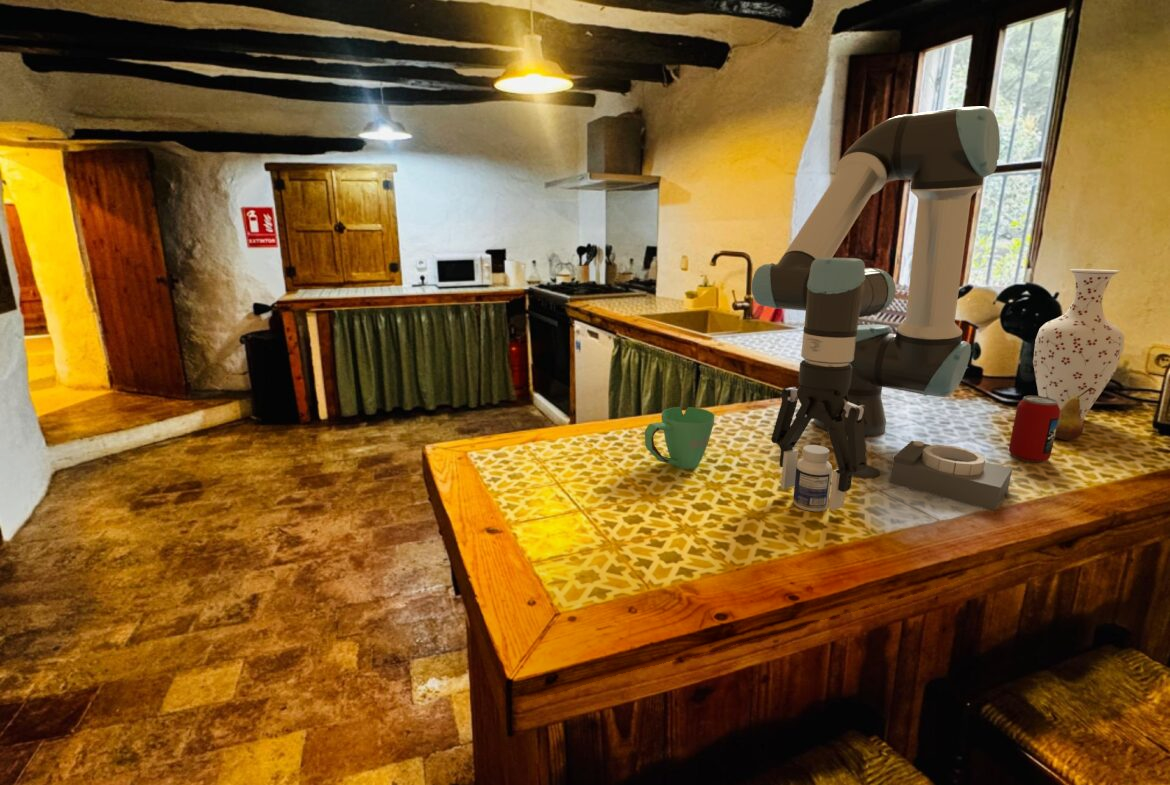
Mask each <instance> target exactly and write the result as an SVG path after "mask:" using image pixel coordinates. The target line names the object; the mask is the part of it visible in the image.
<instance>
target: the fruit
mask: <svg viewBox="0 0 1170 785" xmlns="http://www.w3.org/2000/svg"><path fill="white" fill-rule="evenodd" d="M1091 389H1093V388H1092V387H1090V388H1089V389H1087V390H1086V391H1085V392H1084V393H1086V392H1087V391H1089V390H1091ZM1084 393H1082V394H1081V395H1079V396H1078V397H1076V396H1074V397H1072V398H1070V399H1069V400H1068V401H1067V402H1066V403H1065V404H1064V406H1063V407H1062V408H1061V410H1060V415H1059V420H1058V425H1057V429H1056V434H1055V439H1059V440H1063V441H1067V442H1069V441H1070V442H1071V441H1074V440H1076V439H1079V437H1081V435H1082V434H1083V432H1084V428H1085V427H1084V425H1085V424H1084V421H1082V419H1081V416H1080V399H1079V397H1080V396H1082V395H1083V394H1084Z"/></svg>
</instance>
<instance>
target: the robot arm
mask: <svg viewBox="0 0 1170 785" xmlns="http://www.w3.org/2000/svg"><path fill="white" fill-rule="evenodd" d="M1000 136H1001V135H1000V128H999V122H998V120H997V117H996V115H995V113H994V112H993V110H992V109H991V108H989V107H987V106H965V107H964V106H960V107H957V108H950V109H942V110H941V109H940V110H933V111H926V112H918V113H913V114H912V113H911V114H909V113H908V114H902V115H901V114H900V115H896V116H894V117H891V118H888V119H886V120H884V121H883V122H880V123H878V124H877V125H875V126H874V127H872V128H871V129H869V130H868V131H867V132H865V133H864V134H863V135H861V137H859V138H857V139H856V141H854V143H853V144H852V145H851V146H849V148H847V150H846V151H845V152H844V154H843V155H842V156H841V158H840V159H839V161H838V163H837V164H836V167H835V172H834V173H835V176H834V178H833V180H832V181H831V183H829V186H828V188H826V191H825V192H824V193H823V195H822V197H821V198H820V199H819V201H818V203H817V204H816V206H815V207H814V208H813V210H812V211H811V213H810V215H808V218H807V219H806V221H805V222H804V224H803V225H802V227H801V228H800V230H799V231H798V232H797V234H796V236H795V237H794V239H793V240H792V242H791V243H790V245H789V246H788V248H787V249H786V251H785V252H784V254H783V255H782V257H781V258H780V260H779V261H778V263H776V264H775V263H773V262H772V263H769V264H768V263H766V264H763V265H761V266H759V267H757V269H756V271H754V274H753V277H752V281H751V295H752V296H753V299H754V301H755V303H756V304H758V305H760V306H762V307H768V308H772V309H775V310H776V309H778V310H781V309H782V310H794V311H804V312H805V316H804V326H803V335H802V343H801V353H800V356H801V357H802V359H803V360H801V361H800V362H799V372H798V383H799V387H798V388H797V387H796V386H792V387H787V388H782V390H781V403H780V404H781V405H780V406H779V410H778V414H777V417H776V420H775V424H774V428H773V431H772V435H771V438H770V439H771V442H772V443H773V444H776V445H778V446H779V448H780V456H779V457H780V458H779V466H780V468H782V469H781V478H780V480H781V481H780V489H782V490H787V489H789V488H792V487H794V486H795V476H796V467H797V462H798V461H799V460H798V458H799V449H796V448H795V447H798V445H797V443H798V441H799V440H800V438H801V437H802V436H803V433H804V432H805V430H806V429H807V427H808V425H809V424H810V422H811V420H813V424H814V425H815V426H816V427H818V428H820V429H822V430H824V431H827V432H828V435H829V440H830V443H831V444H830V445H831V446H832V450H833V454H834V457H835V461H836V465H837V467H838V468H836V469H832V476H831V484H830V493H829V502H828V510H830V511H832V512H833V511H836V510H839V509H842V508H844V507H845V499H846V492H848V491H850V490H851V489H852V481H853V480H852V479H853V473H855V472H858V471H861V470H864V469H866V468H867V465H868V462H867V461H868V460H867V450H866V437H871V436H872V437H873V436H878V435H881V434H884V433H885V431H886V426H887V420H886V419H887V418H886V414H885V409H884V405H883V404H884V403H883V399H882V390H883V388H886V389H893V390H898V391H903V392H909V393H913V394H919V395H923V396H924V397H927V396H929V397H930V396H932V397H939V398H945V397H949V396H950V395H952V394H953V393H954V392H955V391H956V390H957V389H958V387H959V385H960V383H961V382H962V379H963V378H964V376H965V374H966V373H965V372H966V370H967V368H968V365H969V361H970V357H971V354H972V353H971V352H972V350H971V349H972V344H970V343H969V342H967V341H965V340H962V339H963V337H962V336H963V330H962V328H960V326H958V325H957V323H956V322H955V321H956V313H957V305H958V299H959V298H958V297H959V291H960V283H961V277H962V268H963V261H964V253H965V245H966V239H967V230H968V223H969V217H970V216H969V214H970V207H971V200H972V196H973V195H974V194H975V193H976V192H978V191H979V190H980V189H981V188H982V187H983V185H984V184H983V183H984V178H987V177H988V176H989V177H990V176H992V175H993V173H995V171H996V169H997V168H998V167H997V166H998V160H999V157H1000V150H1001V149H1000V148H1001V147H1000V144H1001V142H1000V140H1001V138H1000ZM897 180H898V181H899V180H900V181H905V180H906V181H907V180H910V189H909V190H910V192H912V194H913V195H914V196H915V197H916V198H917V206H916V208H917V209H916V218H915V229H914V235H913V236H914V238H913V248H912V257H911V266H910V267H911V268H910V274H909V275H910V276H909V287H908V297H907V305H906V315H905V321H904V322H903V323H901V324H900V325H899V326H898V327H896V332H895V333H891V332H892V329H891V326H890V325H888V324H886V325H885V324H859V320H860V318H864V317H871V316H875V315H877V314H878V313H880V312H883V311H885V310H886V309H887V308H889V306H890V305H891V304H892V303H893V301H894V299H895V296H896V283H895V281H894V279H893V277H892V276H891V275H890V274H889V273H888V272H887V271H885V270H884V269H880V268H875V267H866V263H865V261H863V260H862V259H861V258H855V257H834V255H835V254H836V252H837V251H838V249H839V248H840V246H841V244H842V243H843V241H844V239H845V238H846V236H847V235H848V234H849V232H850V230H851V228H852V227H853V225H854V224H855V222H856V220H857V219H858V218H859V216H860V214H861V212H862V210H863V209H864V208H865V206H866V204H867V203H868V201H869V199H870V198H871V196H872V195H875V194H876V193H878V192H879V191H881V190H882V188H883V187H884V185H885V184H886V183H889V182H893V181H897ZM798 401H799V404H800V407H799V408H798V410H797V409H796V407H797V405H798ZM796 410H797V412H796ZM795 412H796V413H795ZM794 415H795V419H794Z"/></svg>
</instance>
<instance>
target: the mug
mask: <svg viewBox="0 0 1170 785" xmlns="http://www.w3.org/2000/svg"><path fill="white" fill-rule="evenodd" d="M714 425H715V414H714V413H713V412H712V411H710V410H708V409H707V410H706V409H703V408H699V407H693V406H692V407H690V406H687V407H686V410H685V412H684V413H683V410H682V407H681V406H676V407H670V408H666V409H664V410H663V411H662V412H661V422H652V423H649V424H648V425H647V427H646V429H645V430H644V439H645V440H644V443H645V444H644V445H645V448H646V449H647V450H648V451H649V452H650V454H652V456H654V458H655V459H657V461H659V462H662V463H665V464H670V465H673V466H674V467H676V468H678V469H682V470H693V469H695V468H696V469H697V468H698V466H699V465H700V463H701V461H702V459H703V457H704V454H705V453H706V449H707V446H708V445H709V442H710V437H711V435H712V431H713V428H714ZM659 431H663V435H664V440H665V441H664V442H665V444H666V448H667V452H668V455H669V457H668V456H666V455H665V456H664V455H662V454H661V453H660V451H659V449H658V448H657V447H656V445H655V441H654V436H655V434H656V432H659Z"/></svg>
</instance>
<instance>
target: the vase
mask: <svg viewBox="0 0 1170 785" xmlns="http://www.w3.org/2000/svg"><path fill="white" fill-rule="evenodd" d="M1069 271H1070V272H1071V273H1072V274H1074V279H1075V281H1074V282H1075V292H1074V296H1073V299H1072V301H1071V304H1070V306H1069V308H1068V309H1067V310H1066V311H1065V312H1064V313H1063V314H1062V315H1060V316H1058V317H1056V318H1054V319H1051V320H1049V321H1047V322H1045V323H1044V324H1043V325H1042V326H1040V328H1039V330H1038V332H1037V334H1036V337H1035V340H1034V341H1035V342H1034V351H1033V360H1032V364H1033V368H1034V370H1033V371H1034V376H1035V382H1036V387H1037V394H1038V395H1037V396H1041V397H1047V398H1051V399H1054V400H1056V401H1058V403H1057V404H1058V406H1059V408H1060V410H1061V408H1062V407H1063V406H1064V404H1065V403H1066V402H1067V401H1068V400H1069V399H1070V398H1072V397H1074V396H1076V397H1078V396H1079V395H1081V394H1082V393H1084V392H1085V391H1086V390H1087V389H1089V388H1090V387H1092V388H1093V389H1091V390H1089V391H1087V392H1086V393H1084V394H1083V395H1082V396H1080V397H1079V399H1080V416H1081V419H1082V421H1083V422H1084V421H1085V417H1086V415H1087V413H1089V411H1090V409H1091V408H1092V407H1093V405H1094V404H1095V403H1096V401H1097V399H1098V398H1099V397H1100V395H1101V394H1102V392H1103V391H1104V389H1105V388H1106V386H1107V384H1108V383H1109V382H1110V380H1111V379H1112V378H1113V376H1114V375H1115V373H1116V371H1117V368H1118V365H1119V362H1120V359H1121V357H1122V354H1123V351H1124V344H1125V335H1124V334H1123V332H1122V330H1121V329H1120V328H1119V327H1117V326H1116V325H1115V324H1114V323H1112V322H1110V321H1109V320H1108V319H1107V318H1106V316H1105V313H1104V310H1103V298H1104V293H1105V291H1106V289H1107V287H1108V285H1109V283H1110V281H1111V279H1112V277H1113V276H1115V275H1116V274H1118V273H1121V270H1117V269H1116V270H1114V269H1113V270H1112V269H1095V268H1094V269H1093V268H1091V269H1090V268H1071V269H1069Z"/></svg>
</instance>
